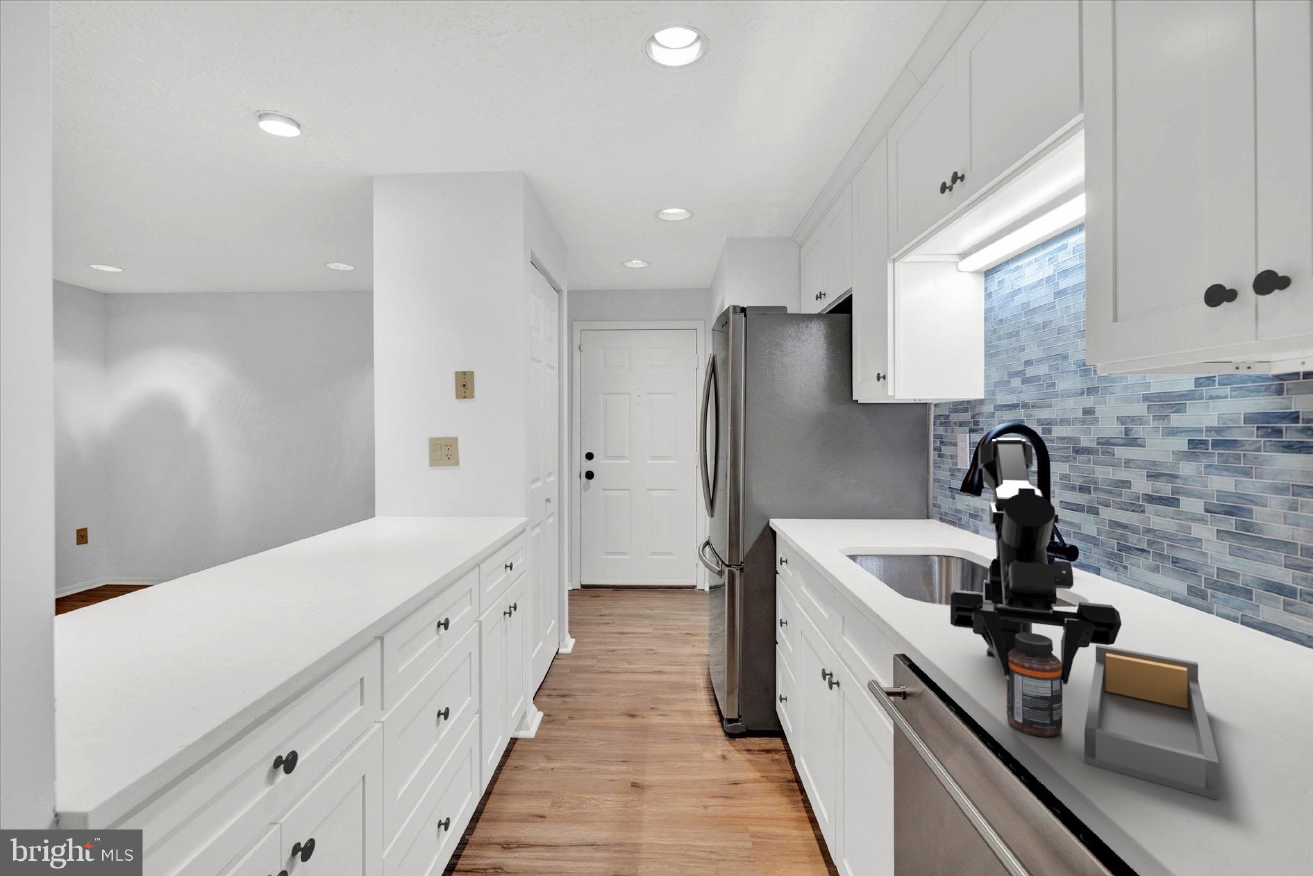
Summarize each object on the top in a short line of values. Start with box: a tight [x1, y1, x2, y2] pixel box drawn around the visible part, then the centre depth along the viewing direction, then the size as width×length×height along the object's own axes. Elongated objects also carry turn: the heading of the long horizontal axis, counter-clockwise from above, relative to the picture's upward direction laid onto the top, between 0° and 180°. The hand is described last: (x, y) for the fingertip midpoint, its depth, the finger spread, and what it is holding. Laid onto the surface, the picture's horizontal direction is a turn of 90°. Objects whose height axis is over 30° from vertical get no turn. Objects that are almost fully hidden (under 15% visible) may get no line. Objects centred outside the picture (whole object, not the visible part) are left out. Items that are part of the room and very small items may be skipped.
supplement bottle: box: [1006, 632, 1063, 738], centre depth 75 cm, size 6×6×11 cm
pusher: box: [1106, 653, 1187, 708], centre depth 81 cm, size 4×8×5 cm, turn 51°
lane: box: [1083, 644, 1220, 801], centre depth 74 cm, size 26×11×6 cm, turn 141°
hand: (1035, 678), depth 74 cm, fingers closed on supplement bottle, 6 cm apart
